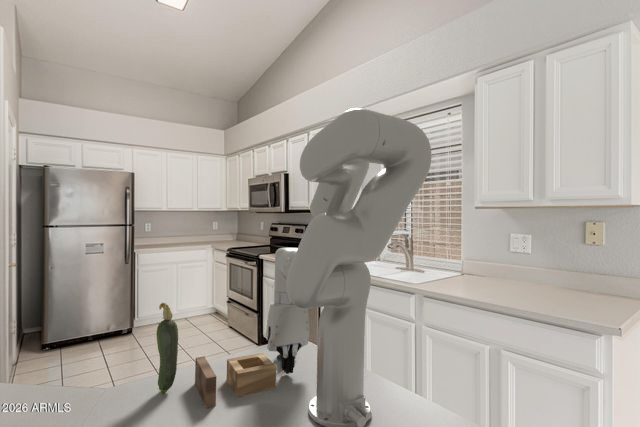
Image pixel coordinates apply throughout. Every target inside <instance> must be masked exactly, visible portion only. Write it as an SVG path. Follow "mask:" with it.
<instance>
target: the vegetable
mask: <svg viewBox="0 0 640 427" xmlns="http://www.w3.org/2000/svg"><path fill="white" fill-rule="evenodd" d="M161 310H162V316H163V317H162V320H161V321H160V322H159V324H158V325H157V328H156V343H157V344H156V345H157V351H158V353H159V368H158V369H159V370H158V380H157V385H158V390H159V391H160V393H161V394H166V393H167V392H169V389H171V387H172V386H173V384H174V381H175V378H176V374H177V370H178V368H177V367H178V352H179V351H178V350H179V347H178V345H179V328H178V324H177V322H175V320H174V319H173V312H172V310H171V308H170V307H169V305H168V304H167V303H166V302H161V303H160V304H159V311H161Z"/></svg>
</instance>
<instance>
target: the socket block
mask: <svg viewBox="0 0 640 427" xmlns="http://www.w3.org/2000/svg"><path fill="white" fill-rule="evenodd" d="M226 382H227V383H228V385H229V387H230V388H231V389H232V391H233V392H234V394H235V396H236V397H241V396H247V395H251V394H256V393H259V392H260V393H261V392H263V391H268V390H273V389H276V388H277V365H276V364H275V363H274V362H273V361H272V360H271V359H269V358H268V356H266V354H265V353H264V352H261V353H254V354H248V355H243V356H238V357H231V358H227V359H226Z"/></svg>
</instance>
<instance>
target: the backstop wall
mask: <svg viewBox="0 0 640 427" xmlns="http://www.w3.org/2000/svg"><path fill="white" fill-rule="evenodd" d="M194 363H195V367H194V369H195V372H194V373H195V374H194V385H195V387H196V389H197V391H198V394H199V396H200V398H201V401H202V403H203V405H204V407H205V408H210V407H215V406H216V405H217V375H216V373H215V372H214V369H213V368H212V366H211V365H210V363H209V361H208V360H207V358H206V357H205V356H200V357H195V362H194Z"/></svg>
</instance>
